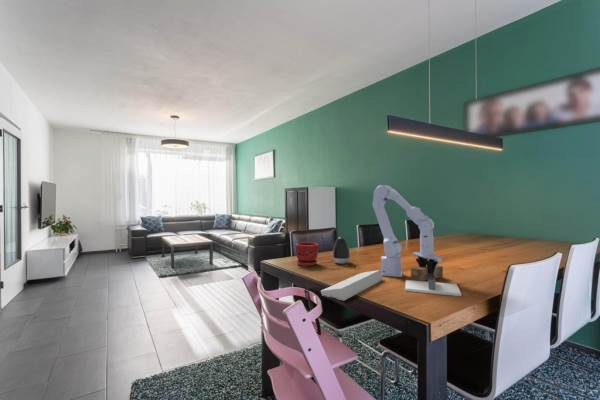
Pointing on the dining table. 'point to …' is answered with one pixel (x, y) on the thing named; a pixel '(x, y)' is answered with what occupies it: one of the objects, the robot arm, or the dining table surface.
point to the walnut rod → (425, 273)
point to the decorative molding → (352, 285)
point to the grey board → (439, 289)
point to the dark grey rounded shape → (341, 251)
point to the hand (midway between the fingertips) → (427, 274)
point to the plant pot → (306, 253)
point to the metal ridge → (431, 281)
